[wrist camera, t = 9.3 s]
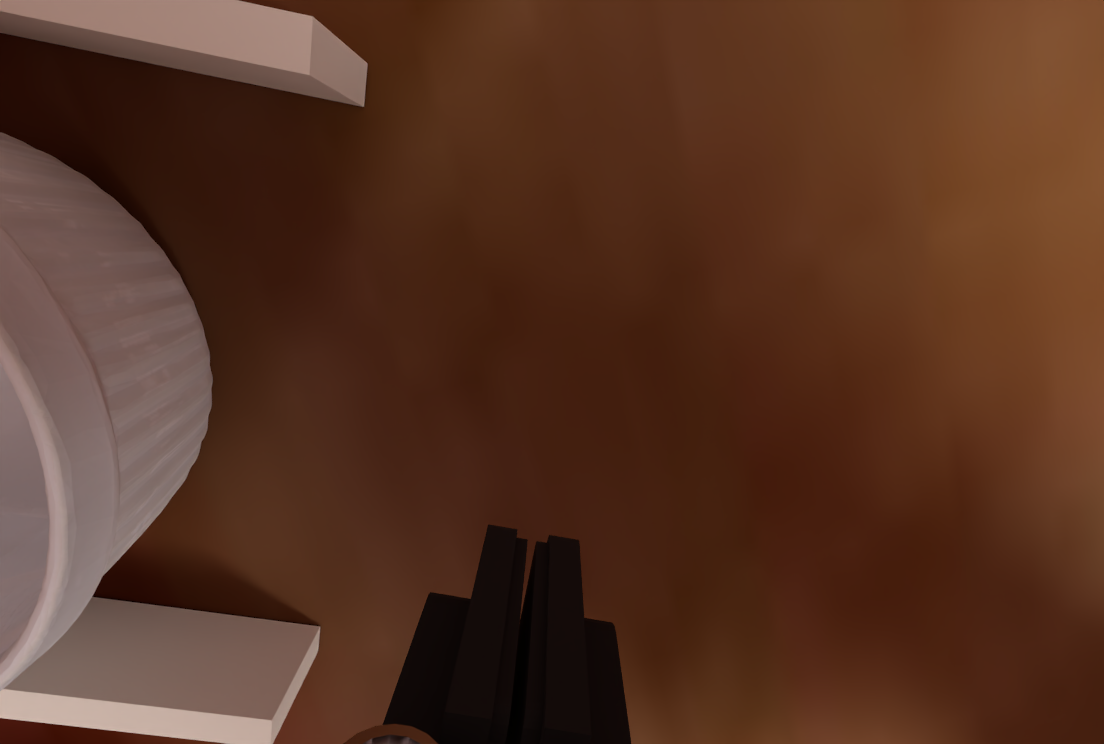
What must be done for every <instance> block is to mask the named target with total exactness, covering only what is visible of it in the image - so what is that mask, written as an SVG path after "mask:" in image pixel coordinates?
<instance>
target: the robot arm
mask: <svg viewBox="0 0 1104 744" xmlns="http://www.w3.org/2000/svg"><path fill="white" fill-rule="evenodd" d="M516 537H517V529H511V528H505V527H499V526H494V525H488V528H487V532H486V537H485V541H484V545H483V550H482V554H481V558H480V562H479V567H478V571H477V575H476V580H475V584H474V588H473V592H472V597H471V599H467V598H461V597H455V596H449V595H443V594H437V593H431V592H430V594H429V595H428V598H427V600H426V603H425V606H424V609H423V611H422V614H421V617H420V620H419V623H418V626H417V629H416V631H415V634H414V637H413V640H412V643H411V646H410V649H409V651H408V654H407V657H406V660H405V663H404V666H403V668H402V671H401V674H400V677H399V680H398V683H397V686H396V688H395V691H394V694H393V697H392V700H391V703H390V706H389V708H388V711H387V714H386V717H385V720H384V723H383V725H380V726H374V727H372V728H369V729H367V730H364V731H362V732H359V733H357V734H356V735H354V736H353V737H352V738H350V739H349V740H348V741H346V742H345V743H343V744H631V738H630V731H629V724H628V716H627V709H626V702H625V695H624V688H623V680H622V673H621V666H620V659H619V652H618V644H617V637H616V631H615V627H614V625H613V623H611V622H605V621H599V620H593V619H587V618H584V609H583V593H582V578H581V562H580V546H579V540H575V539H569V538H563V537H557V536H552V535H549V537H548V541H547V543H544V542H538V541H537V542H536V545H535V550H534V555H533V560H532V565H531V570H530V575H529V580H528V585H527V590H526V595H525V599H524V604H523V609H522V614H521V619H520V612H521V602H522V592H523V582H524V572H525V562H526V551H527V541H528V540H527V539H521V538H516ZM519 623H520V624H519Z"/></svg>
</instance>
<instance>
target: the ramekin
mask: <svg viewBox="0 0 1104 744" xmlns="http://www.w3.org/2000/svg"><path fill="white" fill-rule="evenodd" d="M212 383H213V376H212V372H211V368H210V352H209V349H208V345H207V341H206V338H205V334H204V329H203V325H202V322H201V320H200V318H199V315H198V313H197V310H196V307H195V304H194V301H193V300H192V298H191V296H190V294H189V292H188V290H187V288H186V287H185V285H184V283H183V281H182V278H181V276H180V274H179V273H178V272H177V270H176V269H175V268H174V267H173V265H172V264H171V262H170V261H169V259H168V257H167V256H166V254H165V253H164V251H163V250H162V249H161V247H160V246H159V245H158V244H157V243H156V242H155V241H154V240H153V239H152V238H151V237H150V236H149V234H148V233H147V231H146V230H145V229H144V227H143V226H142V224H141V223H140V222H139V221H137V220H136V219H135V218H134V217H133V216H131V215H130V214H129V213H128V212H127V211H126V210H125V209H124V208H123V207H122V206H121V205H120V204H119V203H118V202H117V201H116V200H115V199H114V198H113V197H112V196H110V195H109V194H107V193H106V192H104V191H103V190H102V189H100V188H99V187H98V186H97V185H96V184H95V183H94V182H92V181H91V180H90V179H89V178H88V177H86V176H84V175H83V174H81V173H79V172H77V171H75V170H73V169H72V168H70V167H69V166H67V165H66V164H64V163H63V162H61V161H60V160H58V159H57V158H55V157H53V156H51V155H50V154H47V153H45V152H43V151H40V150H38V149H35V148H33V147H32V146H30V145H28V144H27V143H25V142H23V141H21V140H18V139H16V138H14V137H11V136H9V135H7V134H4V133H2V132H0V691H1V690H2V689H4V688H5V687H6V686H7V685H9V684H10V683H11V682H12V681H13V680H14V679H16V678H17V677H18V676H19V675H20V674H21V673H22V672H23V671H25V670H26V669H27V668H28V667H29V666H30V665H31V664H32V663H34V662H35V661H36V660H37V659H38V658H39V657H41V656H42V655H43V654H44V653H45V652H46V651H47V650H48V649H50V648H51V647H52V646H53V645H54V644H55V643H56V642H57V641H58V640H59V639H60V638H61V637H62V636H63V635H64V634H65V633H66V632H67V631H68V629H69V628H70V627H71V626H72V624H73V623H74V622H75V621H76V620H77V618H78V617H79V616H80V615H81V613H82V612H83V610H84V608H85V607H86V605H87V604H88V602H89V601H90V599H91V598H92V596H93V594H94V592H95V590H96V588H97V586H98V585H99V583H100V581H101V578H102V576H103V575H104V574H105V573H106V572H107V571H108V570H109V569H110V568H111V567H112V566H113V565H114V564H115V563H116V562H117V561H118V560H119V559H120V558H121V556H122V555H123V554H124V553H125V552H126V551H127V550H128V549H129V548H130V547H131V546H132V544H133V543H134V542H135V541H136V540H137V539H138V538H139V537H140V536H141V535H142V534H143V532H144V531H145V530H146V529H147V528H148V527H149V526H150V524H151V523H152V522H153V521H154V520H155V519H156V517H157V516H158V515H159V514H160V513H161V512H162V510H163V509H164V508H165V506H166V505H167V504H168V502H169V501H170V499H171V498H172V496H173V495H174V494H175V493H176V492H177V490H178V489H179V488H180V486H181V485H182V484H183V482H184V481H185V479H186V477H187V475H188V473H189V470H190V468H191V466H192V465H193V464H194V463H195V461H196V459H197V457H198V455H199V451H200V447H201V441H202V440H203V439H204V437H205V435H206V432H207V429H208V415H209V413H210V410H211V408H212V393H211V388H212Z"/></svg>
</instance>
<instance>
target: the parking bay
mask: <svg viewBox="0 0 1104 744" xmlns="http://www.w3.org/2000/svg"><path fill="white" fill-rule="evenodd" d="M0 33H4V34H9V35H14V36H18V37H23V38H28V39H33V40H38V41H43V42H48V43H53V44H58V45H63V46H67V47H72V48H77V49H82V50H87V51H92V52H97V53H102V54H107V55H112V56H116V57H121V58H126V59H131V60H136V61H141V62H146V63H151V64H156V65H161V66H165V67H170V68H175V69H180V70H185V71H190V72H195V73H200V74H205V75H209V76H214V77H219V78H224V79H229V80H234V81H239V82H244V83H249V84H254V85H258V86H263V87H268V88H273V89H278V90H283V91H288V92H293V93H298V94H303V95H307V96H312V97H317V98H322V99H327V100H332V101H337V102H342V103H347V104H352V105H356V106H361V107H364V101H365V89H366V78H367V66H368V63H367V62H365V61H364V60H363V59H362V58H361V57H360V56H358V55H357V54H356V53H355V52H354V51H353V50H351V49H350V48H349V47H348V46H347V45H346V44H344V43H343V42H342V41H341V40H340V39H339V38H337V37H336V36H335V35H334V34H333V33H332V32H330V31H329V30H328V29H327V28H326V27H325V26H323V25H322V24H321V23H320V22H319V21H318V20H316V19H315V18H314V17H313V16H308V15H304V14H299V13H294V12H290V11H285V10H280V9H276V8H271V7H266V6H262V5H257V4H253V3H248V2H243V1H239V0H0ZM319 636H320V626H312V625H304V624H297V623H289V622H281V621H274V620H266V619H258V618H251V617H243V616H235V615H228V614H220V613H212V612H205V611H197V610H189V609H182V608H174V607H166V606H159V605H151V604H143V603H136V602H128V601H120V600H113V599H105V598H97V597H92V598H91V599H90V601H89V602H88V604H87V605H86V607H85V608H84V610H83V612H82V613H81V615H80V616H79V617H78V618H77V620H76V621H75V622H74V623H73V624H72V626H71V627H70V628H69V629H68V631H67V632H66V633H65V634H64V635H63V636H62V637H61V638H60V639H59V640H58V641H57V642H56V643H55V644H54V645H53V646H52V647H51V648H50V649H48V650H47V651H46V652H45V653H44V654H43V655H42V656H41V657H39V658H38V659H37V660H36V661H35V662H34V663H32V664H31V665H30V666H29V667H28V668H27V669H26V670H25V671H23V672H22V673H21V674H20V675H19V676H18V677H17V678H16V679H14V680H13V681H12V682H11V683H10V684H9V685H7V686H6V687H5V688H4V689H2V690H1V691H0V718H5V719H14V720H23V721H32V722H40V723H49V724H58V725H67V726H76V727H85V728H94V729H103V730H112V731H120V732H129V733H138V734H147V735H156V736H165V737H174V738H183V739H192V740H200V741H209V742H218V743H227V744H273V742H274V740H275V738H276V736H277V734H278V732H279V730H280V728H281V726H282V724H283V722H284V720H285V718H286V716H287V714H288V712H289V709H290V707H291V705H292V703H293V701H294V699H295V697H296V695H297V693H298V691H299V689H300V687H301V685H302V683H303V681H304V679H305V677H306V675H307V673H308V671H309V669H310V667H311V665H312V663H313V661H314V659H315V657H316V655H317V652H318V648H319Z"/></svg>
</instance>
